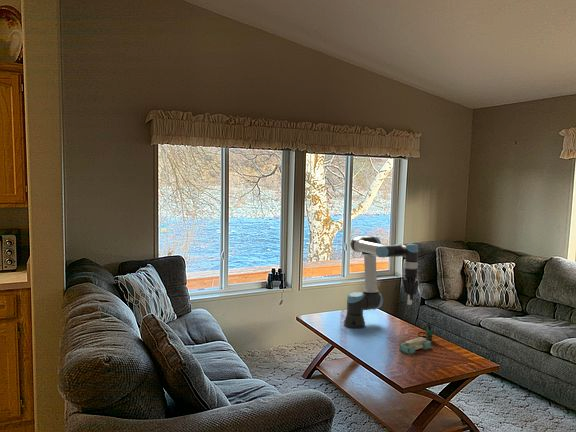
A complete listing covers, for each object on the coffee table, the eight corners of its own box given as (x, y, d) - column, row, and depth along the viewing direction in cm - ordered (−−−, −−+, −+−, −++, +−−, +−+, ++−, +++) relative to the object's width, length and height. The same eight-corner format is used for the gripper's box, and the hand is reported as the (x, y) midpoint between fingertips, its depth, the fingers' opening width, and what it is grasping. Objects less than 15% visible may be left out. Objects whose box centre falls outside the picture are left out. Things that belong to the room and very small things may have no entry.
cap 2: (430, 347, 275) (431, 341, 275) (425, 349, 272) (425, 343, 272) (421, 344, 281) (421, 338, 281) (415, 345, 278) (415, 339, 278)
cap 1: (399, 350, 270) (399, 344, 270) (405, 348, 273) (405, 342, 273) (409, 354, 264) (409, 348, 263) (415, 352, 267) (415, 346, 266)
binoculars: (416, 323, 293) (432, 322, 291) (417, 338, 294) (433, 338, 292) (417, 327, 285) (433, 327, 283) (418, 343, 285) (434, 343, 283)
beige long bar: (404, 349, 269) (404, 341, 269) (420, 344, 279) (421, 336, 278) (409, 351, 266) (410, 343, 266) (425, 346, 275) (426, 338, 275)
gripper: (399, 266, 280) (397, 302, 282) (415, 270, 269) (413, 307, 271) (407, 265, 284) (405, 301, 286) (423, 269, 273) (421, 306, 275)
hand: (409, 304), depth 278 cm, fingers closed
